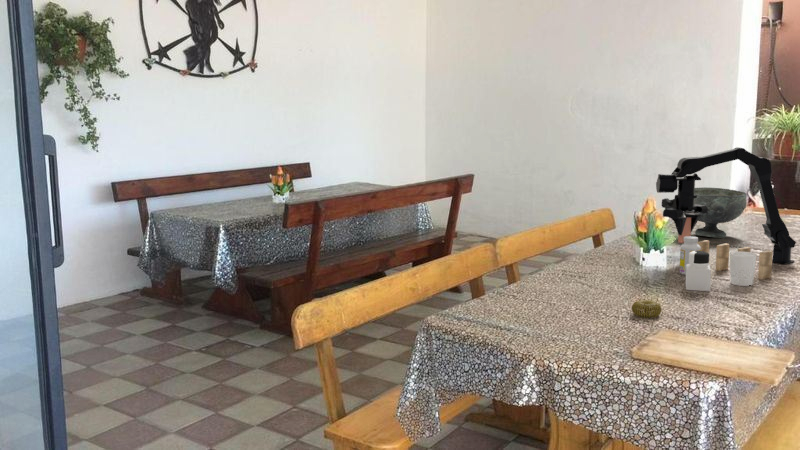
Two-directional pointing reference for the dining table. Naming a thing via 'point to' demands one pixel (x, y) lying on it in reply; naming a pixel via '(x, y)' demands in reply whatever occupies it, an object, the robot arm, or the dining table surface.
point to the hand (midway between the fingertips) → (684, 234)
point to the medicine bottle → (698, 271)
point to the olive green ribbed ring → (646, 309)
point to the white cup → (742, 268)
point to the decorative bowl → (718, 208)
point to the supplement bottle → (687, 251)
